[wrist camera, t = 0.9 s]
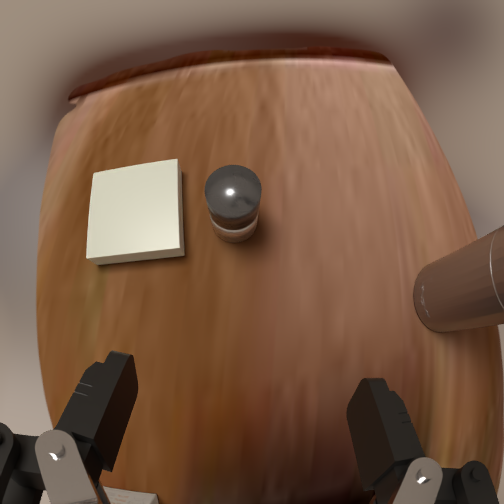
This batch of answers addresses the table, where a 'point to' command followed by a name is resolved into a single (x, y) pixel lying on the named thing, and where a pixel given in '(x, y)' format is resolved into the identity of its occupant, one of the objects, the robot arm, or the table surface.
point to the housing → (233, 202)
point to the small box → (129, 497)
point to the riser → (136, 213)
